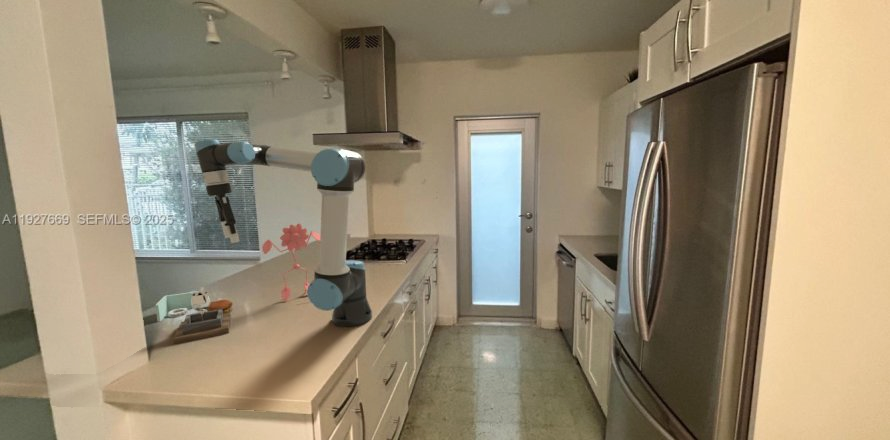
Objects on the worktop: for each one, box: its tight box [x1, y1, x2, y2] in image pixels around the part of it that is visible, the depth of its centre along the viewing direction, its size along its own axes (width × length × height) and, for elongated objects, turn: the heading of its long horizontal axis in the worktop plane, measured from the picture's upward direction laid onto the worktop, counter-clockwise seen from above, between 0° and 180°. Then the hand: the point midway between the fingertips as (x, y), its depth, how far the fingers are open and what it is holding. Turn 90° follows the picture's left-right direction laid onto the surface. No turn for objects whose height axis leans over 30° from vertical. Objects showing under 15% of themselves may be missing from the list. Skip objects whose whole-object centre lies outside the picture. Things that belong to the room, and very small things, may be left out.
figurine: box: [261, 222, 321, 306], centre depth 157 cm, size 15×26×35 cm, turn 131°
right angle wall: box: [155, 290, 199, 323], centre depth 146 cm, size 12×12×8 cm
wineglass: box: [191, 291, 211, 321], centre depth 129 cm, size 6×6×12 cm
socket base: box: [173, 309, 232, 345], centre depth 130 cm, size 16×16×5 cm
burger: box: [205, 299, 233, 314], centre depth 147 cm, size 10×9×5 cm
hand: (232, 239), depth 131 cm, fingers open, 13 cm apart
